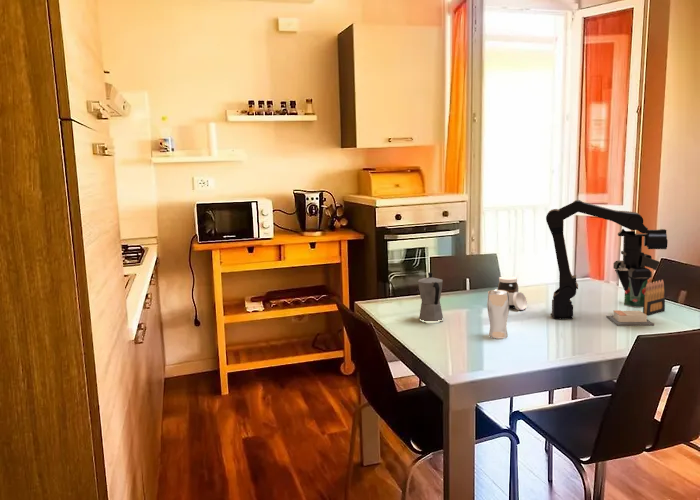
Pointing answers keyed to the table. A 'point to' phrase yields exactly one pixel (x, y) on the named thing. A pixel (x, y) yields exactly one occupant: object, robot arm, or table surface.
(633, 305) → the canned tomato
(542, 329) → the table surface
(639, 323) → the card mat
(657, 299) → the ammunition clip
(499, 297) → the beer glass
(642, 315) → the card deck
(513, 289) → the spread jar
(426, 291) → the coffeepot
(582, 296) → the table surface
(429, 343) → the table surface
